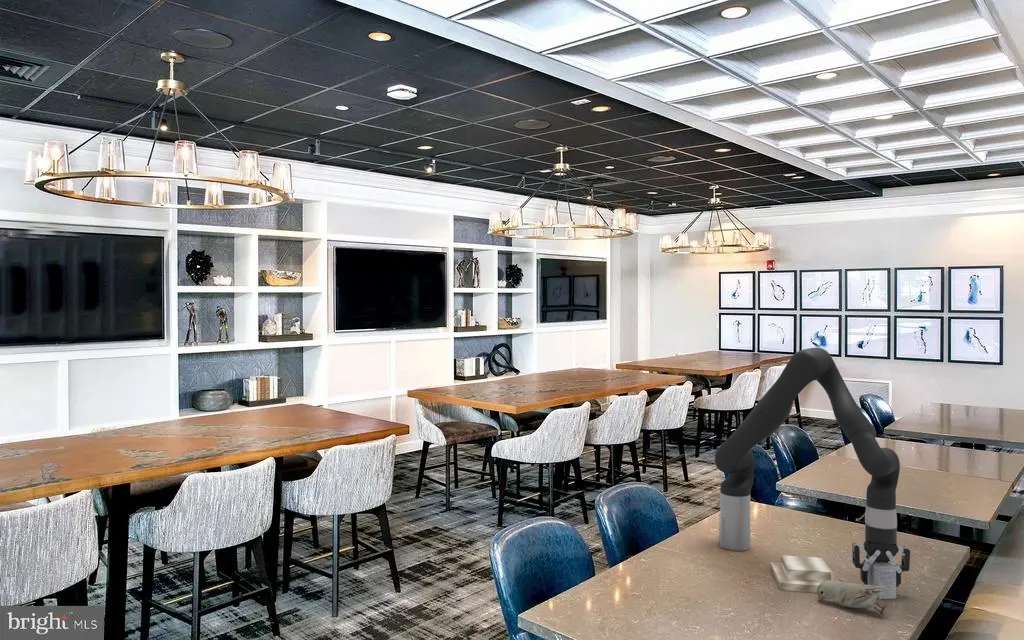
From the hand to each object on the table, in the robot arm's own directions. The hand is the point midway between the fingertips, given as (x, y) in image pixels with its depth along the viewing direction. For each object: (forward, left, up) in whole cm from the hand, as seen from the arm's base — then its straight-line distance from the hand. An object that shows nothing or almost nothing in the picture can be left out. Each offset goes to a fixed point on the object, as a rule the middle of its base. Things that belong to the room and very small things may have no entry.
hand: (880, 584), depth 187 cm
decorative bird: (-10, -11, -3) cm, 16 cm away
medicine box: (0, 0, -3) cm, 3 cm away
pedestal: (-18, +5, -2) cm, 19 cm away
